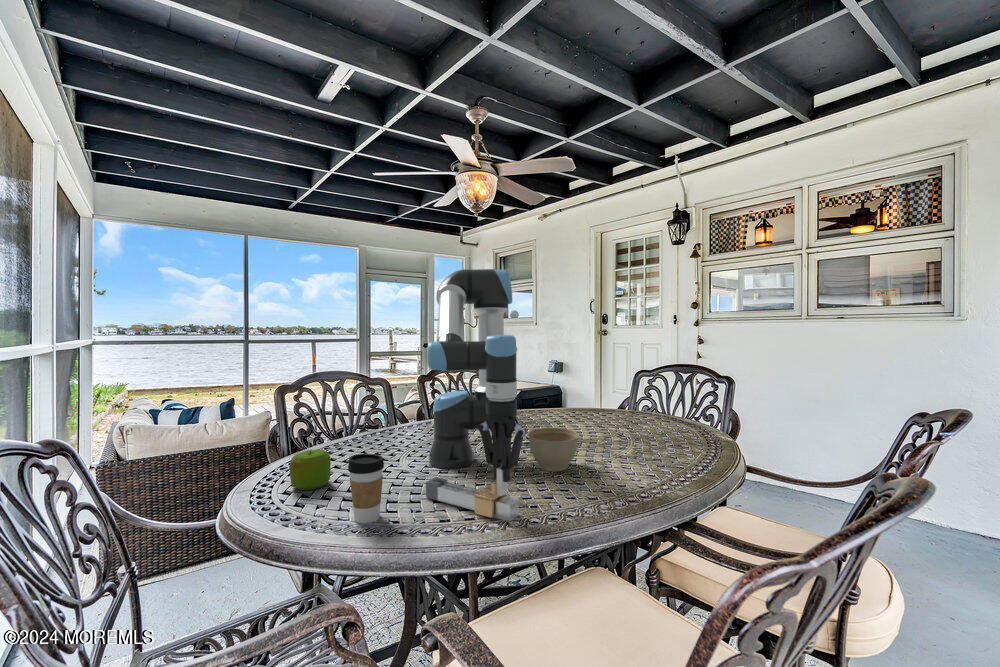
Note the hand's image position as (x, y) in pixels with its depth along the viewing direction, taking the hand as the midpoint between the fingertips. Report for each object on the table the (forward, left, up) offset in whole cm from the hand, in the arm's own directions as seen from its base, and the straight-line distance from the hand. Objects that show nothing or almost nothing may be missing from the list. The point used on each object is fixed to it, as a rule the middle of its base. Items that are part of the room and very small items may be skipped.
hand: (502, 493), depth 109 cm
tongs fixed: (-9, 0, -5) cm, 11 cm away
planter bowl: (-3, +38, -6) cm, 38 cm away
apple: (-57, -12, -6) cm, 59 cm away
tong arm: (-14, +1, -5) cm, 15 cm away
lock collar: (-3, 0, -5) cm, 6 cm away
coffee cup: (-27, -18, -6) cm, 33 cm away
